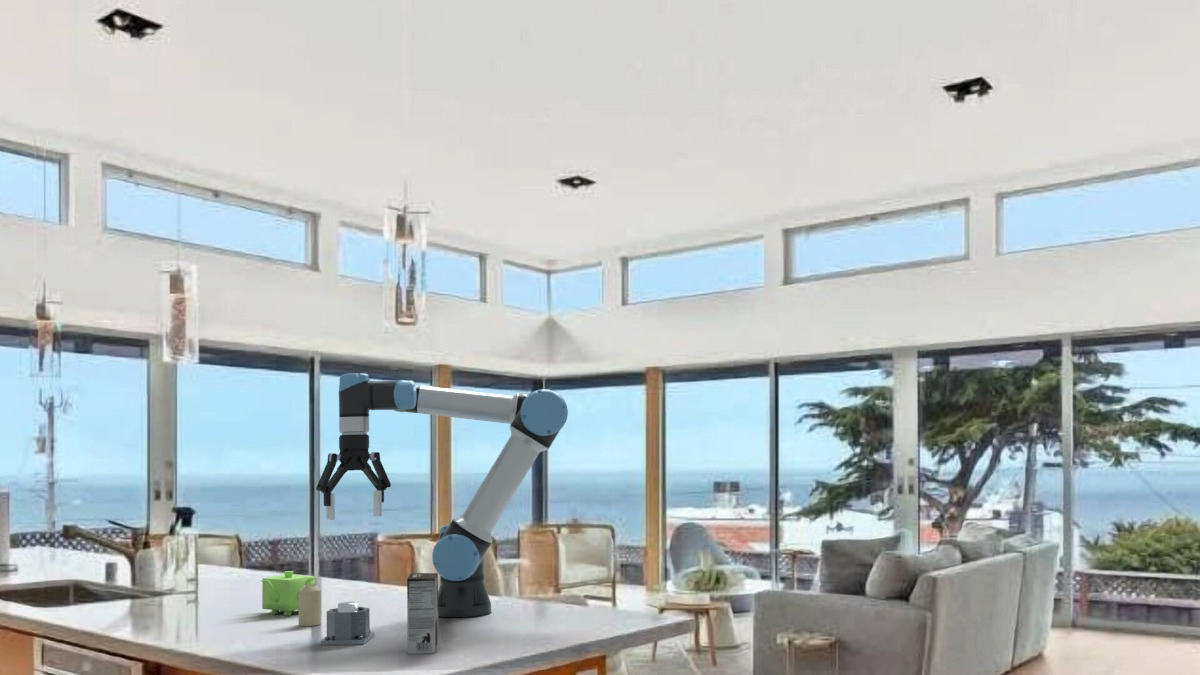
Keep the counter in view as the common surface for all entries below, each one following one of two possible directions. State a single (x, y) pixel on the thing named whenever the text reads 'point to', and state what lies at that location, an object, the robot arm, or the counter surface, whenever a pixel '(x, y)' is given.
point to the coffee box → (422, 613)
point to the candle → (309, 605)
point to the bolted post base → (326, 641)
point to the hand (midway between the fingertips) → (354, 517)
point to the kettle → (283, 592)
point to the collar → (348, 624)
